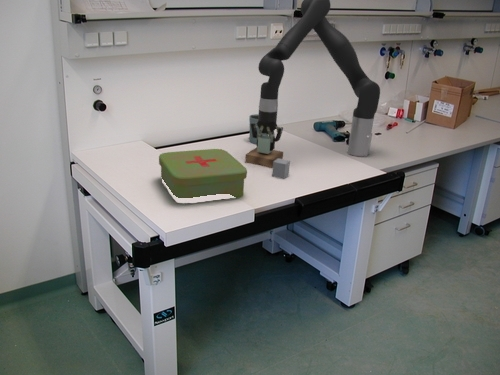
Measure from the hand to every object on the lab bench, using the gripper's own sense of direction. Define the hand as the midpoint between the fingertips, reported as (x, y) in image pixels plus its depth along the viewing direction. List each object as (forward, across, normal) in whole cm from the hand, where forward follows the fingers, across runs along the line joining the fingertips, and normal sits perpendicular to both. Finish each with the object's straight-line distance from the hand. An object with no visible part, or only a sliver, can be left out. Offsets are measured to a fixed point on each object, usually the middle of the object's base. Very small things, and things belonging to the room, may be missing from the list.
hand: (265, 149), depth 204 cm
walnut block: (+6, 0, 0) cm, 6 cm away
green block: (+1, 0, 0) cm, 1 cm away
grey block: (+5, -12, +12) cm, 18 cm away
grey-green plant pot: (+6, +13, -24) cm, 28 cm away
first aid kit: (+6, +8, +39) cm, 40 cm away
